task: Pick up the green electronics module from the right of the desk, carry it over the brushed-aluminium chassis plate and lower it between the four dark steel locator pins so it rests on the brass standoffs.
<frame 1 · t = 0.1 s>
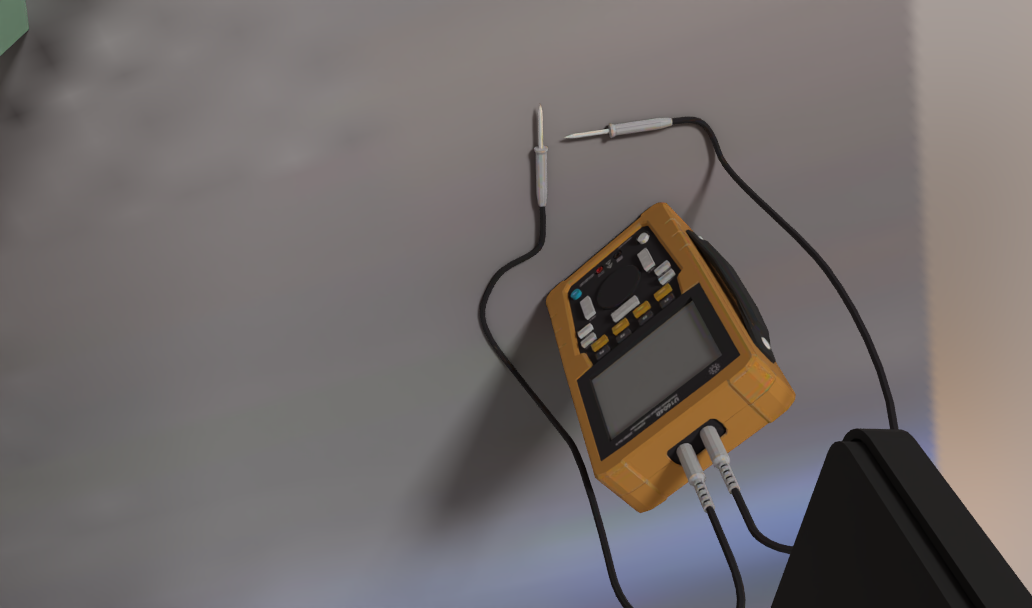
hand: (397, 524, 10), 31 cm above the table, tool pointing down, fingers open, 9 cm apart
multimeter: (566, 214, 44), on the table
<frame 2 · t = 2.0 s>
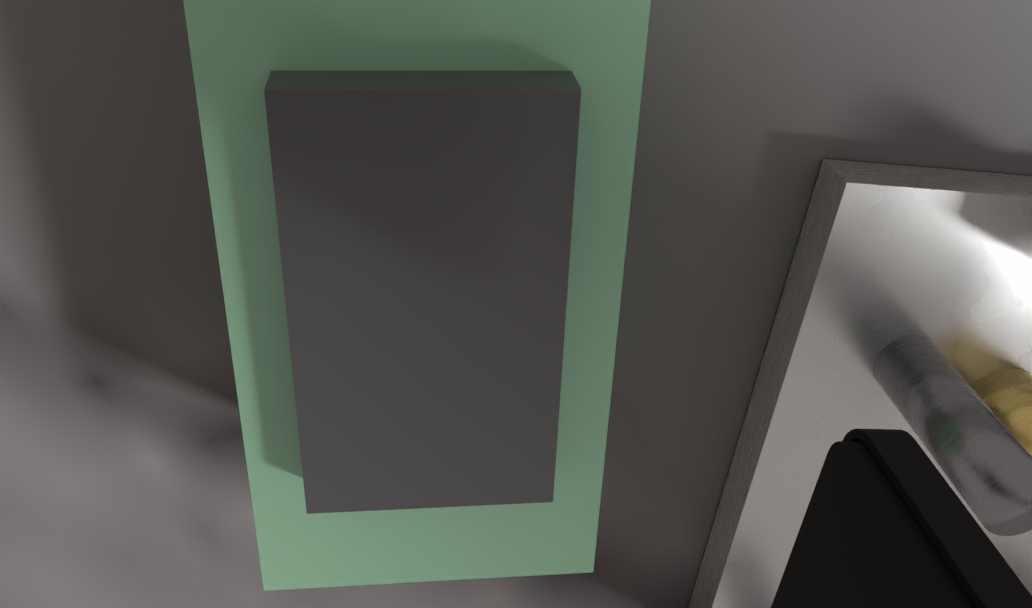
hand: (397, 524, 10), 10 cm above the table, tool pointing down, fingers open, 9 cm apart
module: (420, 169, 19), on the table
chassis: (979, 505, 25), on the table
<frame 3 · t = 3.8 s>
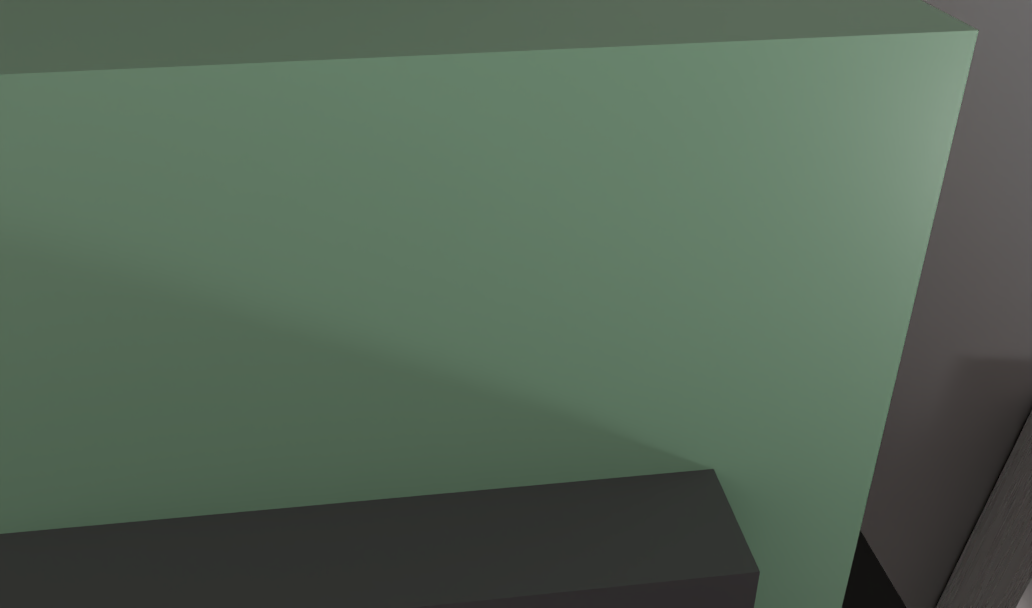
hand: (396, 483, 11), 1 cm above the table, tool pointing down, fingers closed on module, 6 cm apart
module: (395, 433, 12), on the table, touching gripper
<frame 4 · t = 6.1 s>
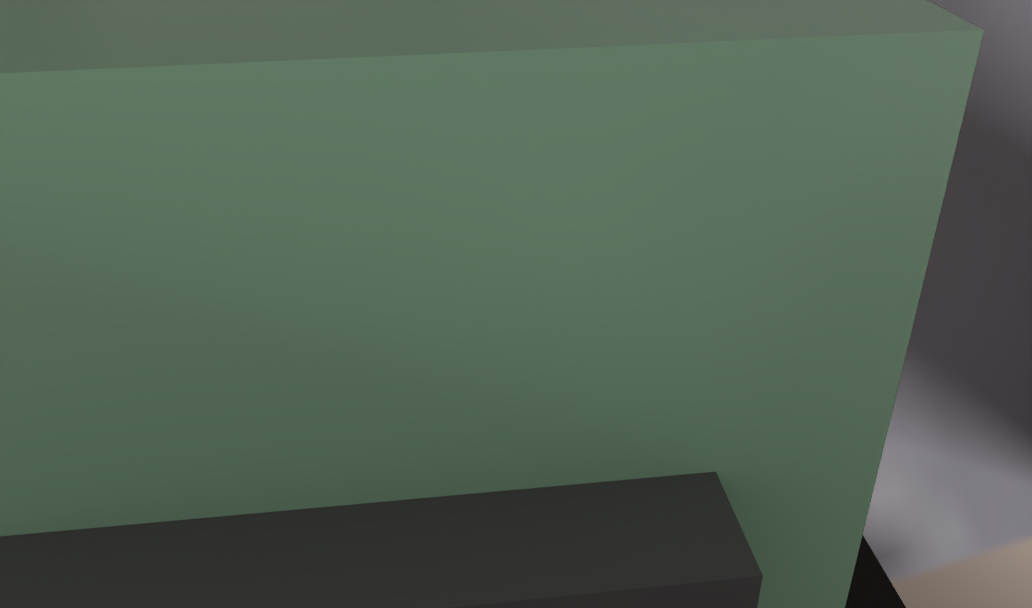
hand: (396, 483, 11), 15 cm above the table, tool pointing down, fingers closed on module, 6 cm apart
module: (394, 434, 11), point 14 cm above the table, touching gripper
when the fingers open (5 cm above the table, at t = 8.5 s): module drops 2 cm, resting on chassis.
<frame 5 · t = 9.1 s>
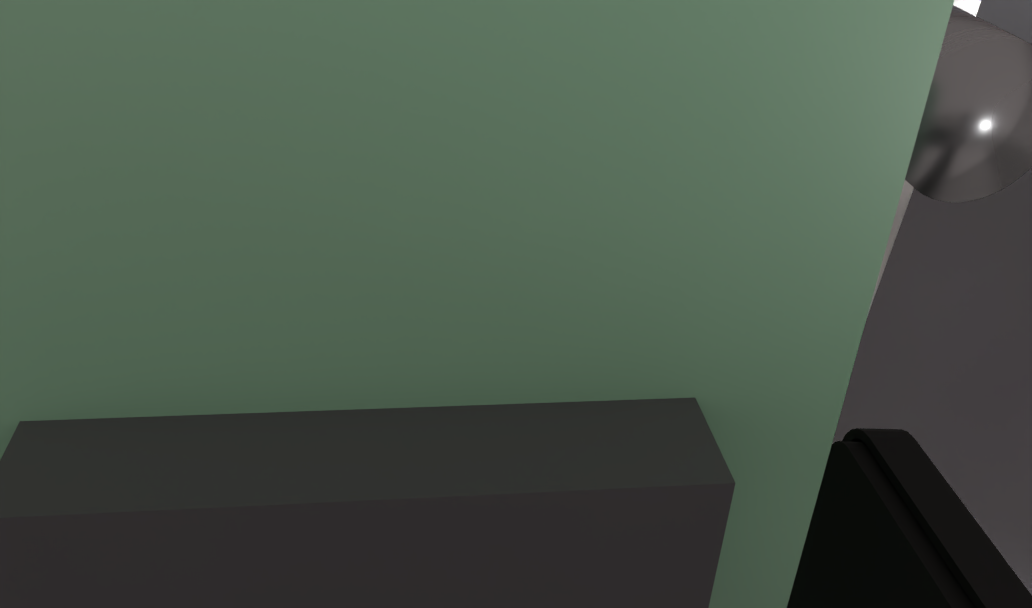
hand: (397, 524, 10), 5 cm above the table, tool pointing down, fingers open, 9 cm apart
module: (380, 390, 12), point 3 cm above the table, touching chassis
chassis: (390, 283, 15), on the table
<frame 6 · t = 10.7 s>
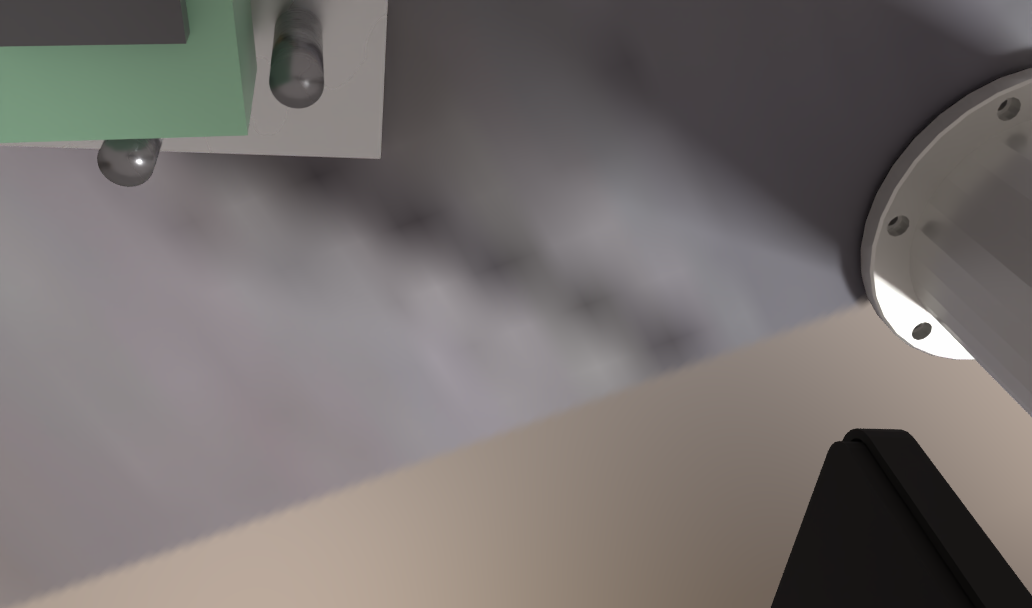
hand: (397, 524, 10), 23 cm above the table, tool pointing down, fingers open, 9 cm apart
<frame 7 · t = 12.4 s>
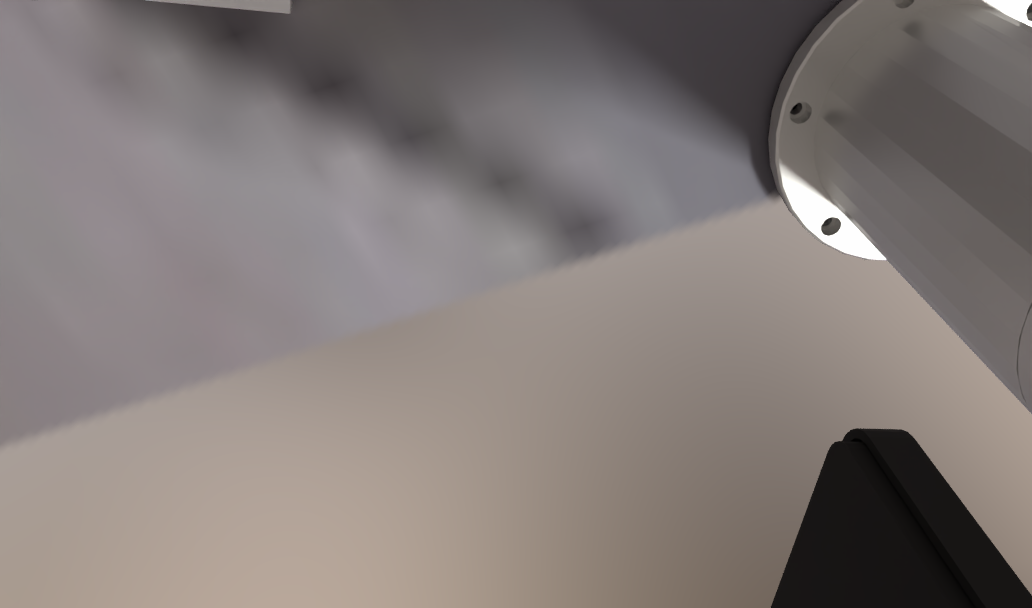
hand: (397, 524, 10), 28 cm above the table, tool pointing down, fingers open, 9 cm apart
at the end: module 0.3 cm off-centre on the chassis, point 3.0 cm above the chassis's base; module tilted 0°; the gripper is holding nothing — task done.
